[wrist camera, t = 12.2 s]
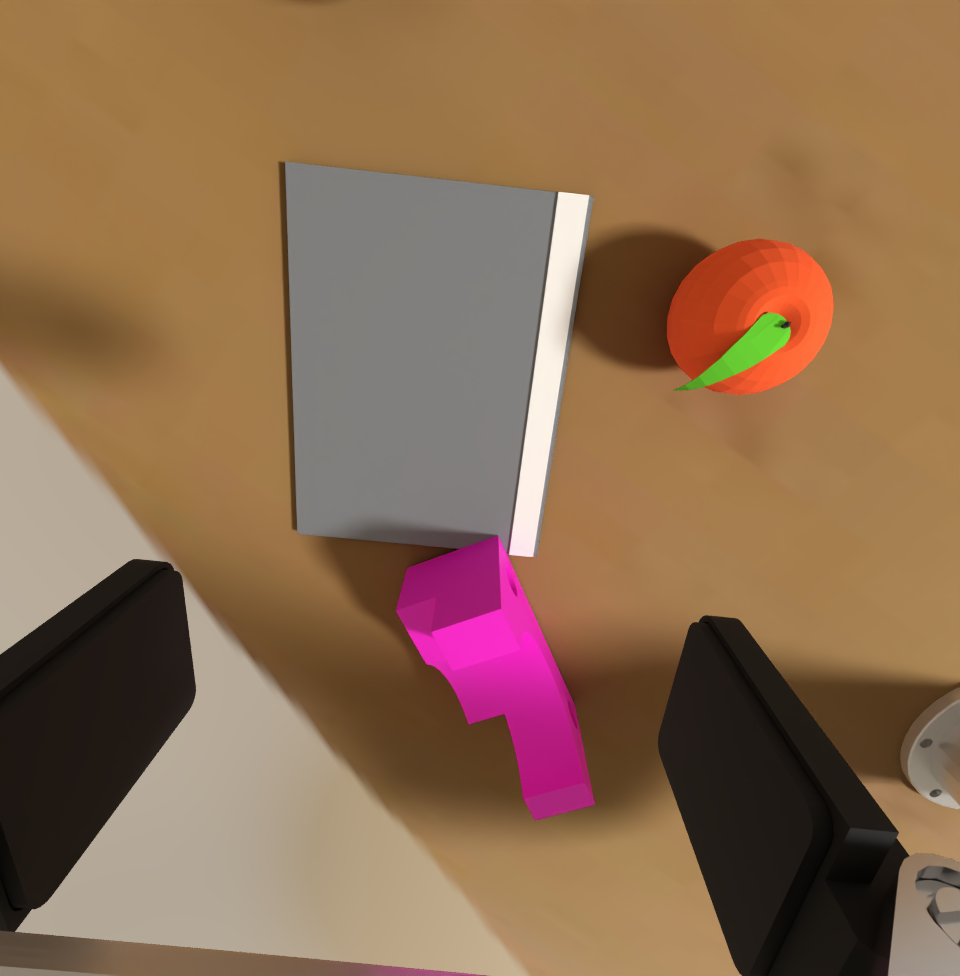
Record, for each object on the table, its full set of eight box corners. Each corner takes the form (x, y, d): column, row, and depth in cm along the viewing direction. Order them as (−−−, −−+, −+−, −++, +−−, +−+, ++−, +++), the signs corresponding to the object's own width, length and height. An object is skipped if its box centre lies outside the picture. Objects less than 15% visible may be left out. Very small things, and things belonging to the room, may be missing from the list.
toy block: (407, 567, 33) (385, 647, 26) (498, 535, 32) (501, 608, 25) (494, 729, 38) (496, 830, 31) (575, 705, 37) (595, 804, 30)
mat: (592, 197, 26) (594, 195, 25) (536, 553, 33) (536, 557, 32) (288, 163, 25) (284, 161, 25) (299, 530, 32) (296, 534, 32)
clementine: (683, 419, 30) (740, 458, 23) (606, 329, 28) (644, 343, 21) (806, 317, 28) (908, 326, 21) (731, 213, 26) (816, 187, 19)
